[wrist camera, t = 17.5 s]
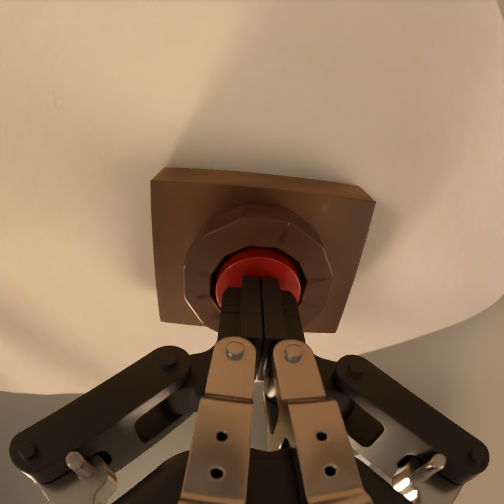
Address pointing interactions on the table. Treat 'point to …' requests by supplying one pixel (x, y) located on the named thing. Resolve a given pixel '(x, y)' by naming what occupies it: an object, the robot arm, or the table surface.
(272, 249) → the button
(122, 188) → the table surface
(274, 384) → the robot arm
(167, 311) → the button block
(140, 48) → the table surface
